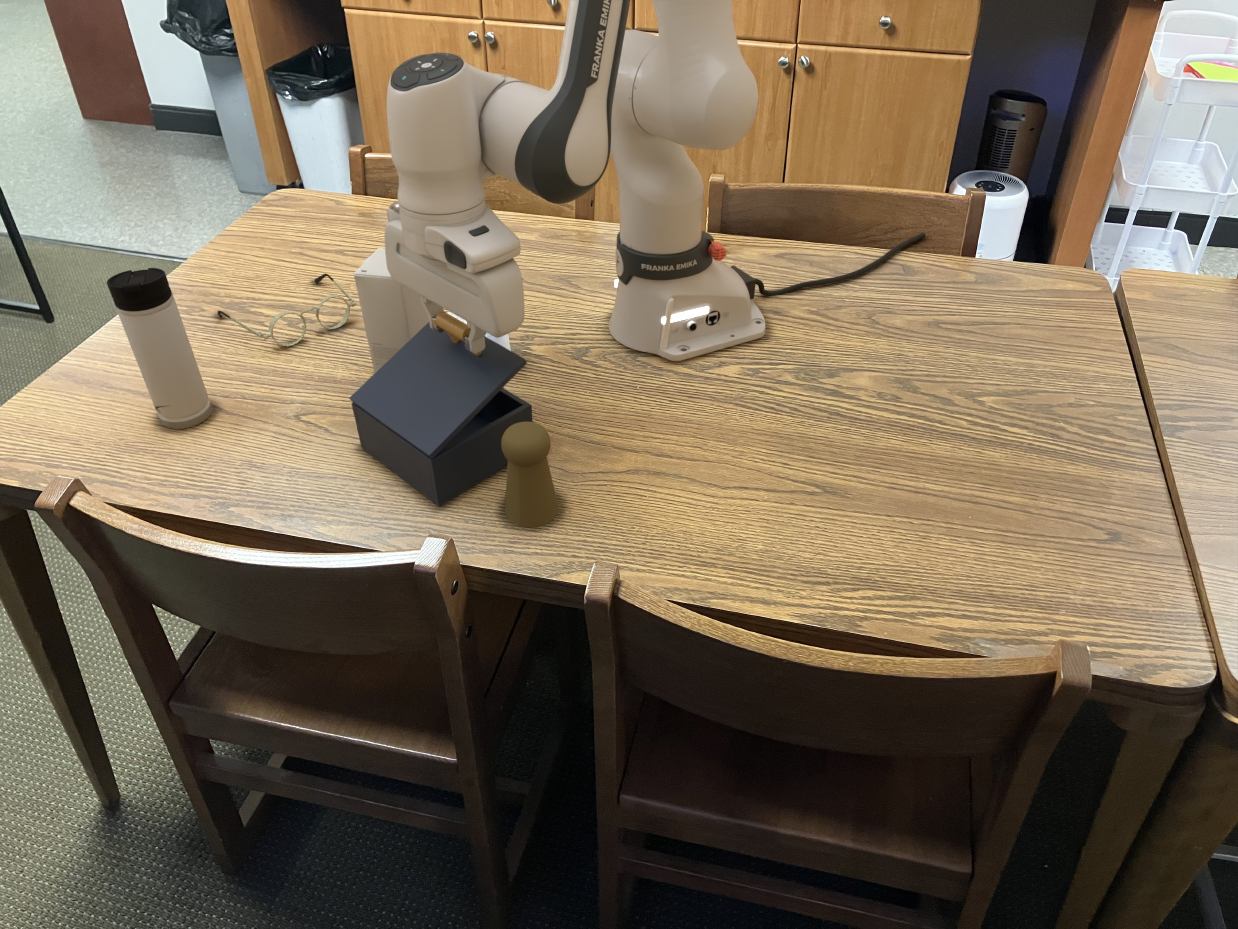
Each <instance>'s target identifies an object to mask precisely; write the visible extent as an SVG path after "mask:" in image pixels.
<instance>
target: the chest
mask: <svg viewBox="0 0 1238 929" xmlns="http://www.w3.org/2000/svg"><path fill="white" fill-rule="evenodd" d="M532 406H533V405H532V404H530V402H527V401H525V400H524V399H523V398H521V397H520V396H517V394H514V393H512V392H511V391H509V390H508V389H506V388H505V387H503V388H502V389H501V390H500V391H499V392H498V393H497V394H496V395H495V396H494V397H493V398H492V399H491V400H490V401H489V402H488V403H487V404H486V405H485V406H484V407H483V408H482V409H481V410H480V411H479V412H478V413H477V414H476V415H475V416H474V418H473V419H472V420H471V421H470V422H469V423H468V424H467V425H466V426H465V427H464V428H463V429H462V430H461V431H460V432H459V433H458V434H457V435H456V436H455V437H454V438H453V439H452V440H451V441H450V442H449V443H448V444H447V445H446V446H445V447H444V448H443V449H442V450H441V451H440V452H439V453H438V454H437V455H436V456H435V457H434V458H433V459H431V458H430V457H428V456H427V455H426V454H424V453H423V452H421V451H420V450H419V449H417V448H416V447H414V446H413V445H412V444H410V443H409V442H407V441H406V440H405V439H403V438H402V437H400V436H399V435H398V434H396V433H395V432H393V431H392V430H391V429H389V428H388V427H386V426H385V425H384V424H382V423H381V422H379V421H378V420H377V419H375V418H374V417H372V416H371V415H370V414H368V413H367V412H365V411H364V410H363V409H361V408H360V407H358V406H357V405H356V404H354V403H353V402H351V408H352V412H353V416H354V421H355V425H356V429H357V434H358V438H359V443H360V447H361V449H362V450H363V451H365V452H366V453H367V454H368V455H370V456H371V457H373V459H375V460H377V461H378V462H379V463H380V464H382V465H383V466H384V467H386V468H387V469H388V470H390V471H391V472H392V473H393V474H395V475H396V476H397V477H399V478H400V479H402V480H403V481H404V482H406V483H407V484H408V485H410V486H411V487H412V488H413V489H414V490H416V491H417V492H419V493H420V494H421V495H422V496H424V497H425V498H427V499H428V500H429V501H431V502H432V503H433V504H435V505H436V506H437V507H438V508H440V507H442V506H443V505H445V504H447V503H449V502H450V501H453V499H455V498H457V497H459V496H460V495H462V494H463V493H465V492H467V491H468V490H470V489H473V487H476V486H477V485H478V484H480V483H482V482H483V481H485V480H487V479H489V478H490V477H492V476H494V475H495V474H497V473H499V472H500V471H502V470H504V469H506V468H507V465H508V460H507V459H506V457H505V456H504V454H503V451H502V447H501V440H502V436H503V434H504V432H505V431H506V429H508V428H509V427H510V426H511V425H513V424H516V423H519V422H534V421H533V418H534V417H533V410H532V409H533V408H532Z"/></svg>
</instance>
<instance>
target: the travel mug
mask: <svg viewBox="0 0 1238 929" xmlns="http://www.w3.org/2000/svg"><path fill="white" fill-rule="evenodd" d="M106 285H107V288H108V290H109V293H110V295H111V298H112V299H113V303H114V304H113V305H114V307H115V310H116V312H117V315H118V317H119V320H120V324H121V326H122V328H123V330H124V332H125V335H126V337H127V341H128V343H129V345H130V348H131V350H132V353H133V355H134V356H133V357H134V358H135V361H136V363H137V366H138V368H139V370H140V374H141V376H142V379H143V381H144V384H145V386H146V389H147V391H148V394H149V396H150V398H151V401H152V404H153V407H154V409H155V412H156V414H157V417H158V419H159V422H160V424H161V425H162V426H164V427H166V428H168V429H173V430H183V429H188V428H193V427H195V426H198V425H199V424H201V423H203V422H204V421H206V420H207V419H208V418H209V417H210V415H211V414H212V411H213V406H212V403H211V401H210V398H209V395H208V392H207V388H206V385H205V382H204V380H203V377H202V375H201V371H200V368H199V366H198V362H197V360H196V357H195V354H194V351H193V348H192V345H191V343H190V339H189V336H188V334H187V331H186V327H185V325H184V322H183V319H182V316H181V313H180V310H179V308H178V304H177V301H176V299H175V297H174V293H173V291H172V289H171V286H170V282H169V280H168V277H167V275H166V271H165V270H163V269H162V268H158V267H148V268H147V269H137V270H132V269H130V270H125V271H122V272H119V273H117V274H113V275H112V276H110V277H109V278H108V279H107V280H106Z"/></svg>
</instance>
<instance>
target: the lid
mask: <svg viewBox="0 0 1238 929" xmlns="http://www.w3.org/2000/svg"><path fill="white" fill-rule="evenodd" d="M435 323H436V325H437V326H438V327H440V328H442V329H443V330H445V331H443V332H441V333H439V332H437V331H435V330H433V329H432V328H430V323H429V322H428V323H427V324H426V325H425V326H424V327H423V328H422V329H421V330H420V331H419V332H418V333H417V334H416V335H415V336H414V337H413V338H411V339H410V340H409V341H408V342H407V343H406V344H405V345H404V346H403V347H402V348H401V349H400V350H399V351H398V352H397V353H396V354H395V355H394V356H393V357H392V358H391V359H389V360H388V361H387V362H386V363H385V364H384V365H383V366H382V367H381V368H380V369H379V370H378V371H377V372H376V373H375V374H374V373H373V374H372V375H371V376H370V377H369V378H368V379H367V380H366V381H365V382H364V383H363V384H362V385H361V386H360V387H359V388H358V389H357V390H355V391H354V393H353V394H352V395H350V396H349V400H350V402H351V403H354V404H356V405H357V406H358V407H360V408H361V409H363V410H364V411H365V412H367V413H368V414H370V415H371V416H372V417H374V418H375V419H377V420H378V421H379V422H381V423H382V424H384V425H385V426H386V427H388V428H389V429H391V430H392V431H393V432H395V433H396V434H398V435H399V436H400V437H402V438H403V439H405V440H406V441H407V442H409V443H410V444H412V445H413V446H414V447H416V448H417V449H419V450H420V451H421V452H423V453H424V454H426V455H427V456H428V457H430V458H431V459H433V458H434V457H435V456H436V455H437V454H438V453H439V452H440V451H441V450H442V449H443V448H444V447H445V446H446V445H447V444H448V443H449V442H450V441H451V440H452V439H453V438H454V437H455V436H456V435H457V434H458V433H459V432H460V431H461V430H462V429H463V428H464V427H465V426H466V425H467V424H468V423H469V422H470V421H471V420H472V419H473V418H474V416H475V415H476V414H477V413H478V412H479V411H480V410H481V409H482V408H483V407H484V406H485V405H486V404H487V403H488V402H489V401H490V400H491V399H492V398H493V397H494V396H495V395H496V394H497V393H498V392H499V391H500V390H501V389H502V388H505V387H506V385H507V384H508V383H509V382H510V381H511V380H513V378H514V377H515V376H517V374H518V373H519V372H520V371H522V369H523V368H524V367H525V366H526V365H527V364H528V363H527V362H528V361H527V360H526V359H525V358H524V357H522V356H520V355H519V354H517V353H515V352H514V351H512V350H510V349H508V348H506V347H504V346H503V345H501V344H500V343H497V342H496V341H495V340H493V339H491V338H489V337H487V336H486V335H485V336H484V337H485V348H484V350H483V351H480V352H478V353H476V354H474V353H472V352H471V351H469V350H467V349H466V348H465V342H464V336H466V335H468V334H470V331H471V328H469V327H468V326H467V323H465V322H463V321H462V320H460V319H458V318H456V317H454V316H452V315H451V314H450V313H448V312H446V311H444V312H440V313H439V314H438V315H437V316H436V318H435Z"/></svg>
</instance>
